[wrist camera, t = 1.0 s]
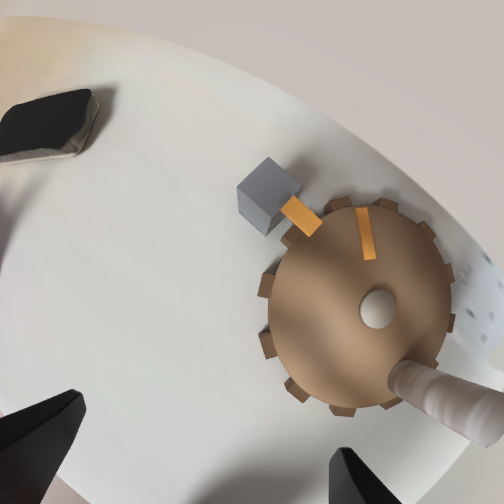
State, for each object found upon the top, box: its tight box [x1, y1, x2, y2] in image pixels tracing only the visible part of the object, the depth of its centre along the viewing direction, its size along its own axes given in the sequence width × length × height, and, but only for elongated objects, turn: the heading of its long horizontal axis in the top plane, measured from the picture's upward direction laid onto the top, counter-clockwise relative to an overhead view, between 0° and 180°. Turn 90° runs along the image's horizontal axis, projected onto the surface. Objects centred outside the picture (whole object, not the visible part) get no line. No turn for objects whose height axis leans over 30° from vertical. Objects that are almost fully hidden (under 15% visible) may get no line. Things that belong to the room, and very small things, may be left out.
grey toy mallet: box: [237, 157, 323, 237], centre depth 21 cm, size 3×6×6 cm, turn 47°
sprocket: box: [257, 196, 504, 448], centre depth 16 cm, size 19×19×14 cm
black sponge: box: [0, 89, 99, 165], centre depth 23 cm, size 16×8×4 cm, turn 84°
